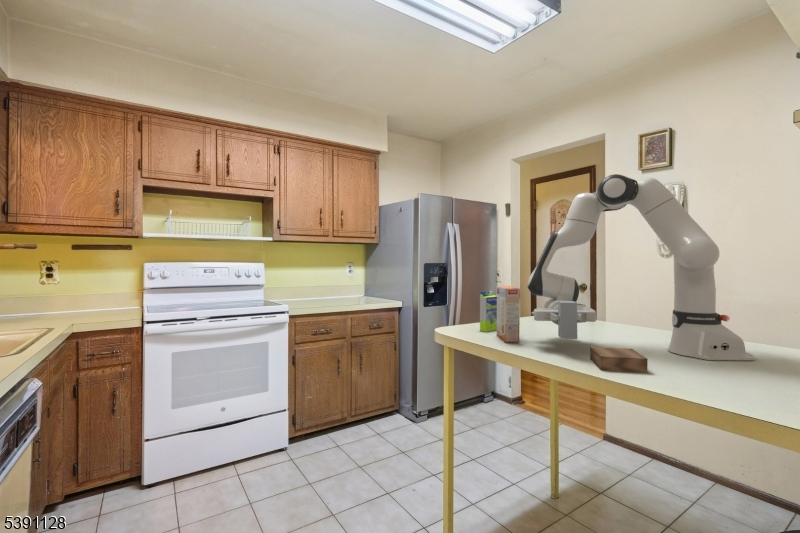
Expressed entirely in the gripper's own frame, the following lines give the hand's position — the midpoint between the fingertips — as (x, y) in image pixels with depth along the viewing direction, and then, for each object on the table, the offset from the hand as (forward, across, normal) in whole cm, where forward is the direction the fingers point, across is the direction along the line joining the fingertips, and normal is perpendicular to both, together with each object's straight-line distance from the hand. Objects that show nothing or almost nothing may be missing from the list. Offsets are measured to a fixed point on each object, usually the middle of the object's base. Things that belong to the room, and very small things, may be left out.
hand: (568, 318), depth 128 cm
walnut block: (+11, +11, +12) cm, 20 cm away
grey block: (-1, 0, +7) cm, 7 cm away
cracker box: (-21, -18, +12) cm, 31 cm away
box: (-39, -26, +12) cm, 48 cm away
